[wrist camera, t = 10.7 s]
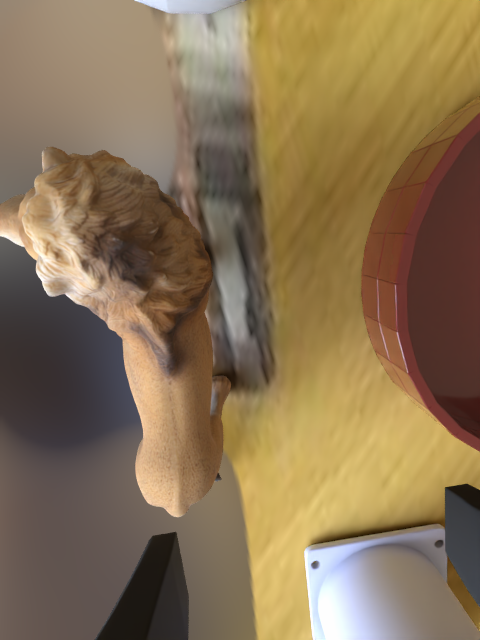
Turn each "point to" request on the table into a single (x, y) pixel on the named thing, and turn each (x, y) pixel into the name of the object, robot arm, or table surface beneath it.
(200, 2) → the donut
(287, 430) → the table surface
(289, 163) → the table surface
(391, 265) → the bowl
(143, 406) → the lion figurine
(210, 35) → the table surface
